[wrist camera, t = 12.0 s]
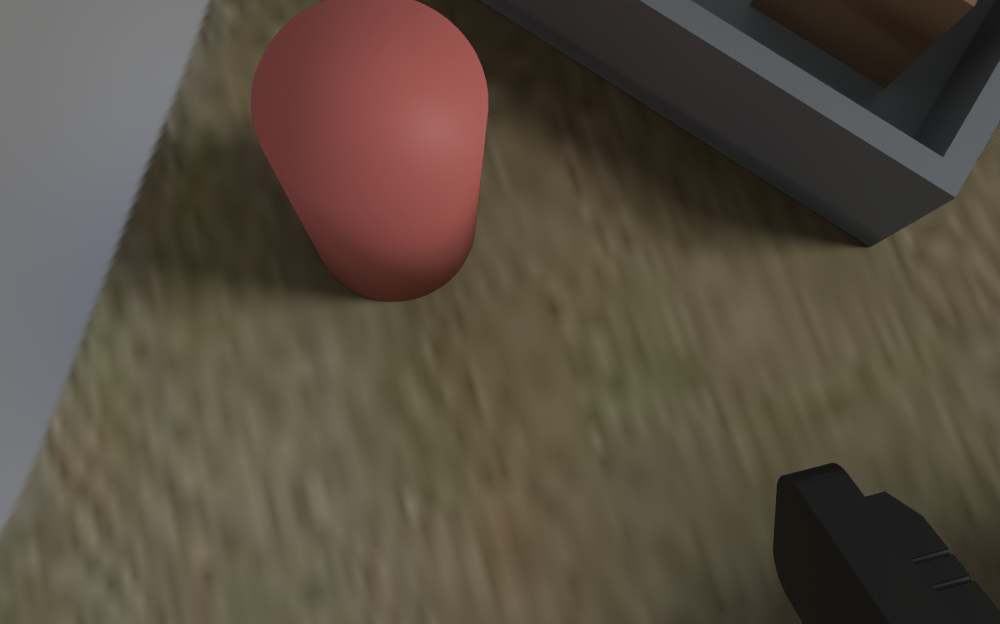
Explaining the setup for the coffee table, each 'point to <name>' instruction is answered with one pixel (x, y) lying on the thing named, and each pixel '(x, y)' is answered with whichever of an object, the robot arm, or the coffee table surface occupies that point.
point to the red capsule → (376, 140)
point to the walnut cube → (869, 29)
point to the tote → (795, 99)
